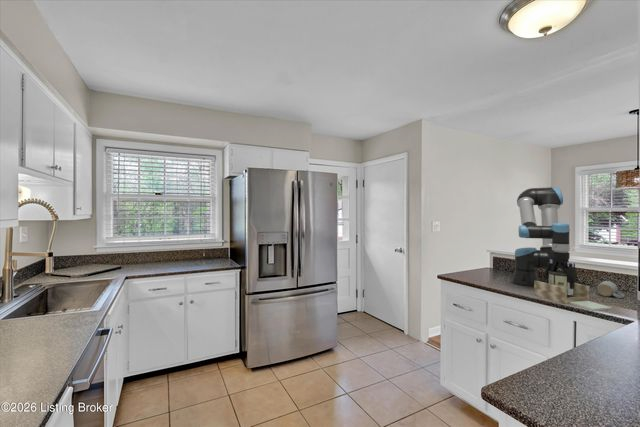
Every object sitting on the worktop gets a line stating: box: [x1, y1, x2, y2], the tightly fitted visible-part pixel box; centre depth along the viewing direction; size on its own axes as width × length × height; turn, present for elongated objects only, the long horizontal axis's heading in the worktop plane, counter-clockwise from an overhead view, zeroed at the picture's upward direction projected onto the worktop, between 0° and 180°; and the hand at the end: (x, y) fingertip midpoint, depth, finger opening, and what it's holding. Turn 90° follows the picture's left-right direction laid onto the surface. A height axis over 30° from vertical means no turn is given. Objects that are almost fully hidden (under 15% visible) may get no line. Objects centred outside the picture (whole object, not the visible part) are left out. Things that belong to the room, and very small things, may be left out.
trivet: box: [569, 300, 613, 311], centre depth 150 cm, size 11×11×1 cm
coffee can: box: [548, 270, 573, 298], centre depth 164 cm, size 10×10×14 cm
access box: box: [533, 280, 590, 305], centre depth 164 cm, size 17×16×8 cm
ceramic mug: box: [596, 280, 625, 299], centre depth 166 cm, size 11×8×8 cm
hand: (560, 292), depth 164 cm, fingers closed on coffee can, 10 cm apart
